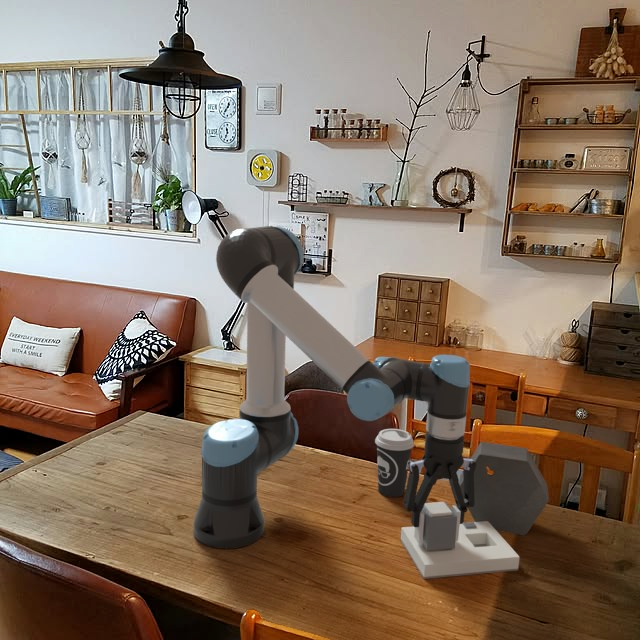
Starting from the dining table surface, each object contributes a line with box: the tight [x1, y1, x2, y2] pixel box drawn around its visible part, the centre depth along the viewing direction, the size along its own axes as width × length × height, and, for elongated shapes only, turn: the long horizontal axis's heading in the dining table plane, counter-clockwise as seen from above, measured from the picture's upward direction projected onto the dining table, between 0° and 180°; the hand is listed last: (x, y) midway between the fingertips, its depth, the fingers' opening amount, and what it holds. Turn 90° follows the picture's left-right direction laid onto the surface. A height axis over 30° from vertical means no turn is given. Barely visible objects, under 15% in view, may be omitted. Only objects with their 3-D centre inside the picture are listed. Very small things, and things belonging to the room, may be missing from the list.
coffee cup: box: [374, 428, 415, 498], centre depth 159 cm, size 10×10×15 cm
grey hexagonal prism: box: [458, 441, 550, 536], centre depth 145 cm, size 17×8×21 cm
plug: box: [422, 501, 457, 551], centre depth 131 cm, size 6×6×11 cm
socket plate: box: [400, 521, 520, 580], centre depth 133 cm, size 20×14×3 cm
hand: (436, 538), depth 132 cm, fingers open, 7 cm apart
